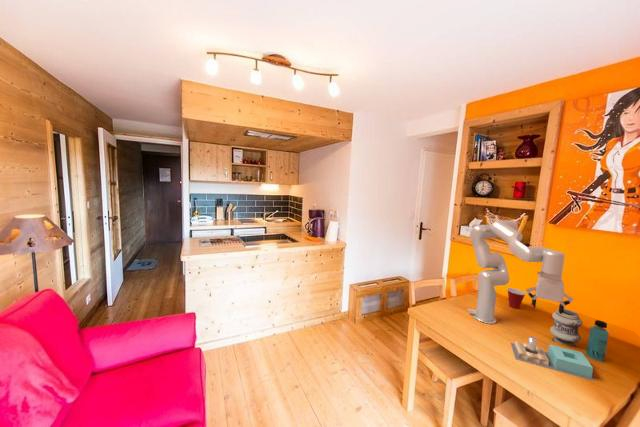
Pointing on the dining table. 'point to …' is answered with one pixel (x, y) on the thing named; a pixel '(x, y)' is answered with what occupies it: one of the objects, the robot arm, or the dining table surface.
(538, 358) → the ash mount
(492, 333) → the dining table surface
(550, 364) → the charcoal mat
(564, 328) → the apothecary jar
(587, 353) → the beverage bottle
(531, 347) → the steel pin
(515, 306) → the plastic cup
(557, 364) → the teal dock
